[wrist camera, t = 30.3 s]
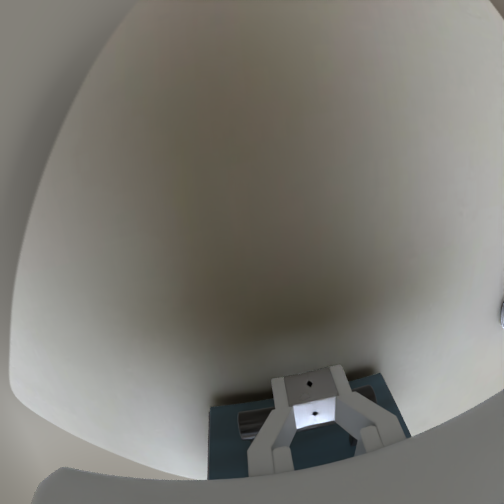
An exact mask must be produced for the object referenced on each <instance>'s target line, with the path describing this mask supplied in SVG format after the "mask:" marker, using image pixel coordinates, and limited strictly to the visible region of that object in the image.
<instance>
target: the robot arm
mask: <svg viewBox="0 0 504 504" xmlns="http://www.w3.org/2000/svg"><path fill="white" fill-rule="evenodd" d="M271 383H272V390H273V397H274V404H275V410H272V411H271V413H270V414H269V416H268V418H267V419H266V421H265V423H264V424H263V426H262V428H261V429H260V431H259V432H258V434H257V436H256V437H255V439H254V441H253V442H252V444H251V445H250V447H249V448H248V450H247V458H248V474H249V477H245V478H233V479H218V480H158V479H143V478H132V477H122V476H115V475H107V474H101V473H95V472H89V471H83V470H79V469H74V468H69V467H61V468H59V469H58V470H56V471H55V472H53V473H52V474H51V475H49V476H48V477H47V478H46V479H44V480H43V481H42V482H41V483H40V484H39V486H38V487H37V490H36V492H35V494H34V497H33V499H32V502H31V504H504V389H503V390H502V391H500V392H498V393H497V394H495V395H494V396H492V397H490V398H489V399H487V400H485V401H484V402H482V403H480V404H478V405H477V406H475V407H473V408H471V409H469V410H468V411H466V412H464V413H462V414H460V415H458V416H456V417H454V418H452V419H450V420H448V421H446V422H444V423H442V424H440V425H438V426H436V427H433V428H431V429H429V430H427V431H424V432H422V433H420V434H417V435H415V436H413V437H410V438H408V439H407V438H406V436H405V434H404V432H403V430H402V427H401V425H400V423H399V421H398V419H397V416H395V415H394V414H392V413H390V412H389V411H387V410H385V409H384V408H382V407H380V406H379V405H377V404H375V403H374V402H372V401H370V400H369V399H367V398H366V397H364V396H362V395H361V394H359V393H357V392H356V391H355V392H352V390H351V388H350V385H349V383H348V380H347V378H346V375H345V373H344V370H343V368H342V365H340V364H338V365H334V366H330V367H325V368H321V369H317V370H313V371H309V372H305V373H301V374H295V375H289V376H284V378H283V377H278V378H272V379H271ZM334 420H335V422H336V423H337V424H338V425H340V426H341V427H342V428H343V429H344V430H346V431H347V432H348V433H349V434H351V435H352V436H353V437H354V438H355V439H357V440H358V441H357V446H356V450H355V454H354V457H351V458H348V459H344V460H340V461H336V462H332V463H328V464H324V465H320V466H315V467H311V468H306V469H301V470H294V465H293V460H292V455H291V450H290V448H289V446H290V444H291V442H292V439H293V437H294V435H295V433H296V431H297V429H299V428H303V427H307V426H311V425H316V424H320V423H325V422H330V421H334Z"/></svg>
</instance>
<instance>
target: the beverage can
mask: <svg viewBox="0 0 504 504" xmlns="http://www.w3.org/2000/svg"><path fill="white" fill-rule="evenodd" d="M501 325H502V327H503V329H504V303H503V305H502V309H501Z"/></svg>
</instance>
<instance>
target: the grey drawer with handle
mask: <svg viewBox="0 0 504 504" xmlns="http://www.w3.org/2000/svg"><path fill="white" fill-rule="evenodd" d="M348 383H349V385H350V388H351V390H352V392H355V391H356V392H357V393H359V394H361V395H362V396H364V397H366V398H367V399H369V400H370V401H372V402H374V403H375V404H377V405H379V406H380V407H382V408H384V409H385V410H387V411H389V412H390V413H392V414H394V415H395V416H397V419H398V421H399V423H400V425H401V427H402V430H403V432H404V434H405V436H406V438H407V439H408V438H410V437H411V435H410V432H409V430H408V428H407V426H406V424H405V422H404V420H403V417H402V415H401V413H400V411H399V409H398V407H397V405H396V403H395V401H394V399H393V397H392V395H391V393H390V391H389V389H388V387H387V385H386V383H385V381H384V379H383V377H382V375H381V373H377V374H374V375H371V376H368V377H364V378H361V379H357V380H353V381H350V382H348ZM272 410H275V404H274V398H273V399H267V400H261V401H255V402H248V403H241V404H233V405H225V406H216V407H211V408H210V433H209V480H218V479H233V478H245V477H249V474H248V458H247V450H248V448H249V447H250V445H251V444H252V442H253V441H254V439H255V437H256V436H257V434H258V432H259V431H260V429H261V428H262V426H263V424H264V423H265V421H266V419H267V418H268V416H269V414H270V413H271V411H272ZM357 441H358V440H357V439H355V438H354V437H353V436H352V435H351V434H349V433H348V432H347V431H346V430H344V429H343V428H342V427H341V426H340V425H338V424H337V423H336V422H335V420H334V421H330V422H325V423H320V424H316V425H311V426H307V427H303V428H299V429H297V431H296V433H295V435H294V437H293V439H292V442H291V444H290V446H289V448H290V450H291V455H292V460H293V465H294V470H301V469H306V468H311V467H315V466H320V465H324V464H328V463H332V462H336V461H340V460H344V459H348V458H351V457H354V454H355V450H356V446H357Z"/></svg>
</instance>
